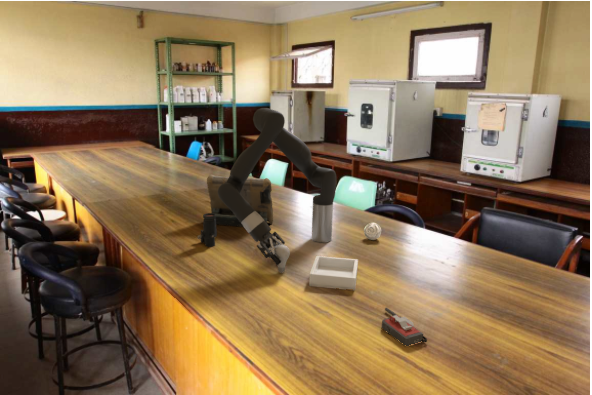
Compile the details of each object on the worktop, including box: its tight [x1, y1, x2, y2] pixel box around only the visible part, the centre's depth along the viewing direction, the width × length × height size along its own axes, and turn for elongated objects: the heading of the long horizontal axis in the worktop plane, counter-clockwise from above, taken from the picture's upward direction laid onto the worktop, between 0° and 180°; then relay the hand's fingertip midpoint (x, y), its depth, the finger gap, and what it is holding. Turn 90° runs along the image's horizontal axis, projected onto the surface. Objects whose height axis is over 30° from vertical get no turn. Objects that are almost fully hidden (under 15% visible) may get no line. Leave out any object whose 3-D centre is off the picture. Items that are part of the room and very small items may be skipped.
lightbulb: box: [274, 244, 291, 274], centre depth 169 cm, size 6×6×11 cm
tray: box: [308, 255, 359, 291], centre depth 166 cm, size 18×16×4 cm
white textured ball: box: [363, 222, 382, 241], centre depth 210 cm, size 8×8×8 cm
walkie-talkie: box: [381, 307, 428, 347], centre depth 132 cm, size 9×4×20 cm
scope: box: [197, 212, 218, 248], centre depth 197 cm, size 8×14×10 cm
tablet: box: [206, 174, 274, 228], centre depth 227 cm, size 33×14×25 cm, turn 85°
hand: (283, 259), depth 169 cm, fingers open, 8 cm apart
